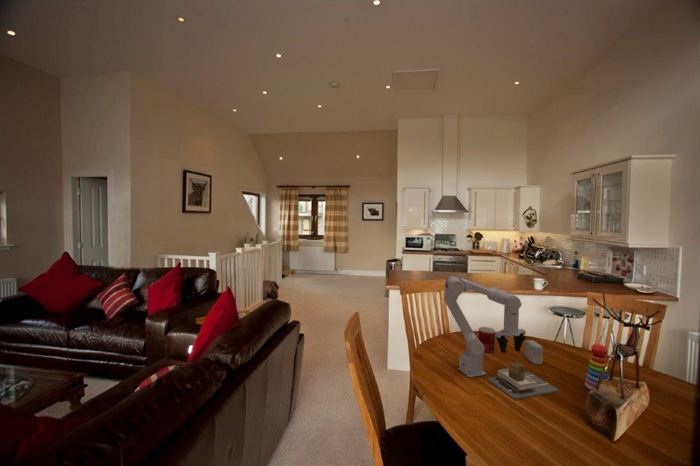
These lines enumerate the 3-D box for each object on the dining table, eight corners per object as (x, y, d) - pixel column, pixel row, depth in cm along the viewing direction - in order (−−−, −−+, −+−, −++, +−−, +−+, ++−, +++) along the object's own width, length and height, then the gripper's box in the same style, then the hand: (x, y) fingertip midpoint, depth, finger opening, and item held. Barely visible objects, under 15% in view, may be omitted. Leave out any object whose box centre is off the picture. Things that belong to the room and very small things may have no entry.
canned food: (492, 354, 155) (493, 333, 154) (476, 350, 160) (477, 329, 159) (496, 349, 161) (496, 329, 161) (480, 345, 166) (480, 325, 165)
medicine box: (542, 364, 145) (543, 346, 144) (533, 364, 145) (533, 346, 145) (533, 357, 153) (533, 340, 152) (524, 356, 153) (524, 340, 152)
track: (514, 400, 116) (514, 394, 116) (487, 379, 130) (487, 374, 130) (559, 391, 122) (559, 386, 122) (528, 373, 136) (528, 368, 136)
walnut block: (516, 381, 123) (516, 367, 122) (508, 376, 126) (509, 362, 126) (524, 380, 124) (524, 366, 123) (516, 375, 127) (516, 361, 127)
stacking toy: (614, 396, 119) (617, 349, 118) (591, 393, 121) (593, 347, 120) (602, 385, 127) (604, 341, 126) (580, 383, 129) (582, 339, 128)
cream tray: (520, 392, 118) (520, 384, 118) (497, 376, 130) (497, 370, 130) (536, 389, 120) (536, 382, 120) (512, 374, 132) (512, 367, 132)
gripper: (504, 326, 128) (503, 357, 129) (531, 323, 132) (530, 353, 133) (492, 320, 135) (491, 350, 136) (518, 317, 139) (517, 346, 140)
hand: (510, 351), depth 135 cm, fingers open, 7 cm apart
